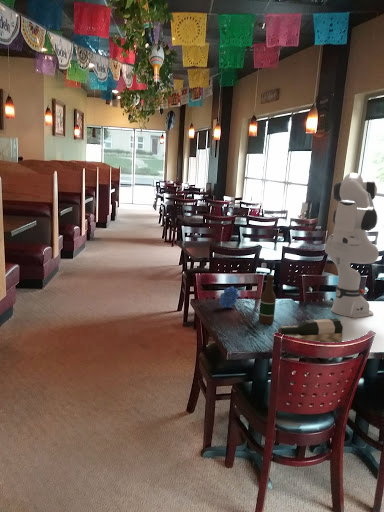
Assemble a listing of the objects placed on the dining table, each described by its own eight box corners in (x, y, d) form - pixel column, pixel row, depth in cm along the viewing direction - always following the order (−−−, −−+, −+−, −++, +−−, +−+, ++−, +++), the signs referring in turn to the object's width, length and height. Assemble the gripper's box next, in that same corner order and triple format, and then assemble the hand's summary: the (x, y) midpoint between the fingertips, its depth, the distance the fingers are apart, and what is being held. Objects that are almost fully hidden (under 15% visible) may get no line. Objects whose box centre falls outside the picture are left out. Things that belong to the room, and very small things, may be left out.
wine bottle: (343, 336, 191) (284, 341, 182) (332, 336, 199) (275, 340, 190) (341, 318, 192) (283, 321, 183) (330, 318, 200) (273, 322, 191)
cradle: (324, 331, 202) (325, 324, 202) (341, 341, 190) (342, 334, 190) (279, 334, 195) (280, 326, 195) (294, 345, 183) (295, 337, 183)
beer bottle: (275, 325, 207) (280, 277, 202) (259, 324, 206) (264, 277, 201) (271, 319, 214) (276, 273, 209) (256, 319, 213) (260, 273, 209)
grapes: (233, 304, 235) (235, 283, 232) (239, 308, 229) (241, 287, 226) (215, 306, 230) (216, 285, 227) (221, 310, 224) (222, 288, 221)
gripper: (323, 233, 195) (319, 262, 198) (351, 241, 176) (347, 273, 179) (335, 233, 197) (331, 262, 200) (364, 241, 178) (359, 273, 181)
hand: (339, 267), depth 189 cm, fingers closed
